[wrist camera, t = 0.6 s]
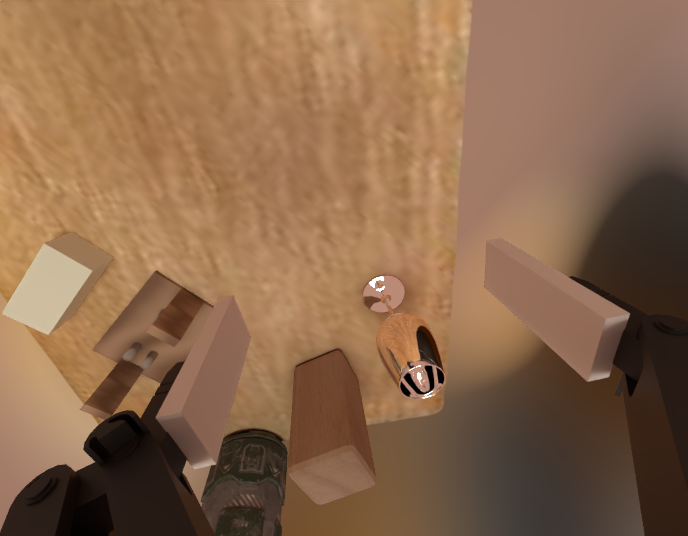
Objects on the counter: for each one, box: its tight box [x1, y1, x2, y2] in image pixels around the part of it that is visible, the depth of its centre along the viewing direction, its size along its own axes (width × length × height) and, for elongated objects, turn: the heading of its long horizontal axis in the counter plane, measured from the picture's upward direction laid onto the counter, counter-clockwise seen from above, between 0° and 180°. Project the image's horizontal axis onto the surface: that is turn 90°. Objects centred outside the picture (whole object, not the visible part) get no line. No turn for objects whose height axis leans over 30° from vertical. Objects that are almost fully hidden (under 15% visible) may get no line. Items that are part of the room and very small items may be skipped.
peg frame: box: [80, 271, 213, 420], centre depth 45 cm, size 13×20×10 cm, turn 135°
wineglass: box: [363, 275, 445, 399], centre depth 42 cm, size 8×8×20 cm
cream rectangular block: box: [2, 232, 114, 335], centre depth 42 cm, size 6×14×5 cm, turn 136°
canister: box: [201, 430, 287, 536], centre depth 53 cm, size 16×16×28 cm
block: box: [288, 350, 376, 505], centre depth 49 cm, size 10×10×20 cm
